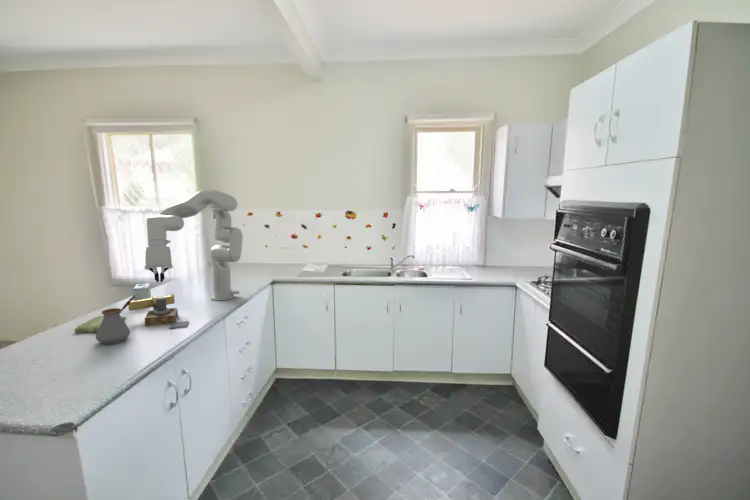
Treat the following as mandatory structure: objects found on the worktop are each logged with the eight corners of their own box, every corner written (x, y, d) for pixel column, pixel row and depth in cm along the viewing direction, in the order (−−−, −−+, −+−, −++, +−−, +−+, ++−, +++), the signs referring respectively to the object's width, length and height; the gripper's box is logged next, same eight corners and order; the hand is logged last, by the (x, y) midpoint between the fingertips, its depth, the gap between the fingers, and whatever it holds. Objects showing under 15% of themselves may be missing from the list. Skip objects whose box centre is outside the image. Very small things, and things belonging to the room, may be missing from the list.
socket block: (178, 314, 177) (177, 303, 176) (175, 323, 164) (174, 312, 163) (150, 316, 172) (149, 306, 171) (145, 326, 159) (144, 315, 159)
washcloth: (128, 319, 168) (127, 313, 168) (104, 333, 151) (103, 326, 151) (98, 320, 167) (97, 313, 166) (71, 334, 149) (70, 327, 149)
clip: (175, 303, 176) (174, 294, 175) (129, 311, 163) (128, 301, 162) (173, 302, 178) (172, 293, 177) (128, 309, 165) (127, 299, 164)
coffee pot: (118, 346, 138) (115, 310, 136) (88, 346, 138) (85, 309, 135) (150, 327, 159) (148, 295, 157) (124, 326, 159) (122, 294, 156)
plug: (171, 317, 172) (169, 294, 170) (169, 322, 166) (168, 298, 164) (155, 319, 169) (153, 296, 167) (152, 324, 163) (151, 300, 161)
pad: (188, 322, 167) (188, 320, 166) (187, 327, 160) (187, 325, 160) (171, 323, 164) (171, 322, 164) (169, 328, 157) (169, 327, 157)
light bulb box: (137, 302, 194) (136, 283, 192) (151, 301, 197) (150, 282, 195) (133, 308, 184) (132, 288, 183) (148, 306, 187) (147, 287, 186)
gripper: (177, 241, 169) (179, 278, 171) (139, 242, 162) (142, 280, 165) (175, 243, 162) (177, 282, 164) (136, 244, 155) (138, 284, 158)
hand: (159, 281), depth 165 cm, fingers closed
